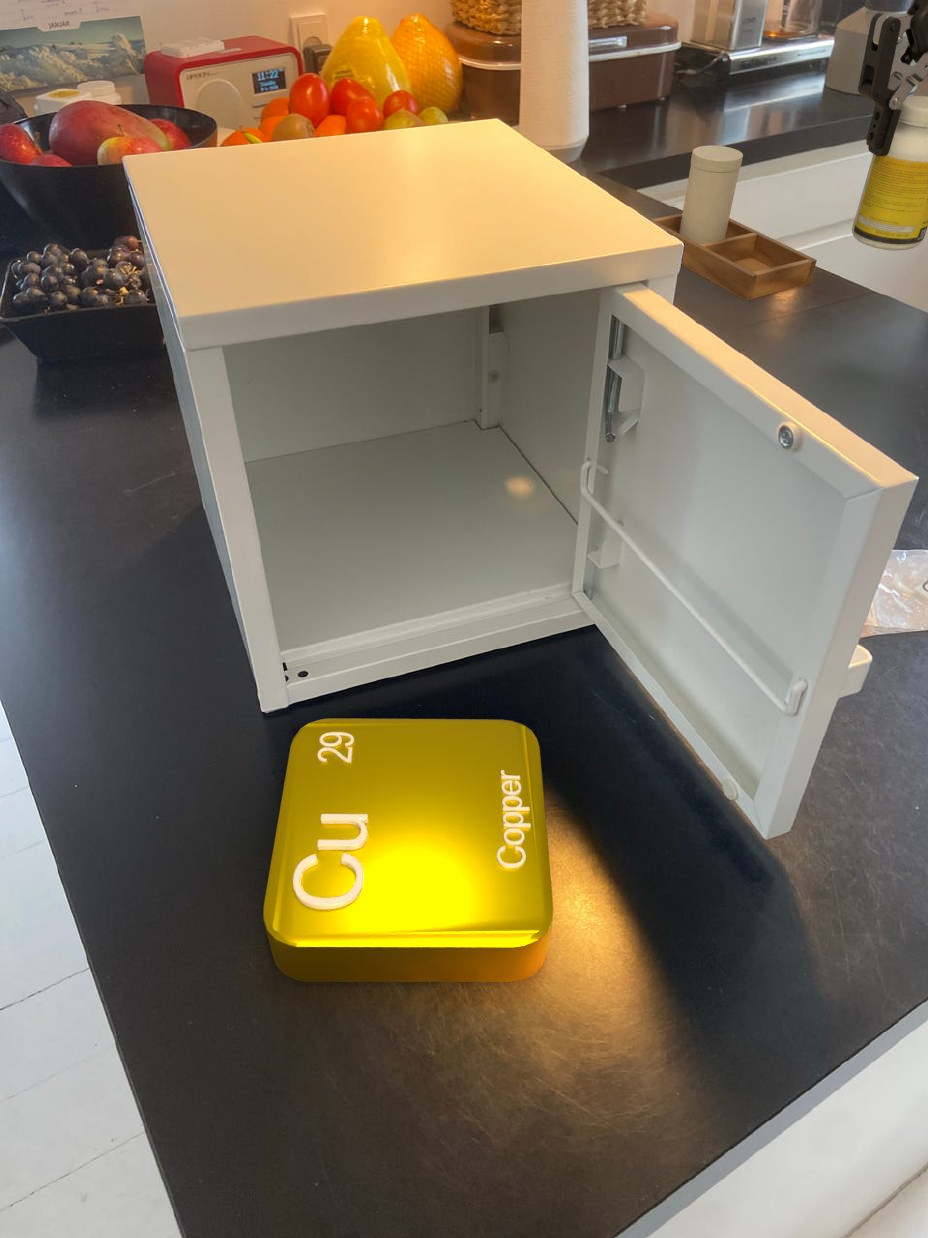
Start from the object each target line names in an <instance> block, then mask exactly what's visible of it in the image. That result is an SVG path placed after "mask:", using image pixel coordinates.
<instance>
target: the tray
mask: <svg viewBox="0 0 928 1238" xmlns="http://www.w3.org/2000/svg"><path fill="white" fill-rule="evenodd" d="M682 214H683V212H682V213H677V214H671V215H666V216H661V217H657V218H652V219H651V218H650V220H651V221H653V222H654V223H656V224H657V225H658V226H660V227H662V228H663V229H665V230H666V231H667V232H669V233H671V234H672V235H674V236H677V237H678V238H680V239H681V240H682V241H683V242H684V243H685V251H684V256H683V261H682V265H681V266H683V264H684V266H683V267H685V268H686V269H688V270H691V271H692V272H694V273H696V274H698V275H699V276H701V277H703V278H705V279H707V280H709V281H710V282H712V283H714V284H715V285H717V286H719V287H721V288H722V289H725V290H726V291H728V292H730V293H732V294H734V295H736V296H737V297H739V298H741V299H743V300H744V301H751V300H755V299H759V298H763V297H766V296H771V295H774V294H778V293H781V292H782V293H783V292H785V291H790V290H793V289H797V288H801V287H805V286H809V285H811V283H812V280H813V276H814V272H815V268H816V265H817V261H818V260H817V259H815V258H814V257H811V256H809V255H807V254H805V253H804V252H801V251H799V250H797V249H795V248H793V247H791V246H788V245H786V244H784V243H783V242H780V241H778V240H776V239H774V238H772V237H770V236H767V235H766V234H764V233H762V232H760V231H758V230H755V229H753V228H752V227H749V226H747V225H746V224H743V223H741V222H739V221H737V220H734V219H732V218H730V217H729V221H728V226H727V231H726V236H725V239H722V240H718V241H713V242H709V243H704V244H700V245H699V244H697V243H695V242H694V241H692V240H690V239H688V238H686V237H684V236H682V235H680V234H679V231H680V225H681V219H682Z"/></svg>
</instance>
